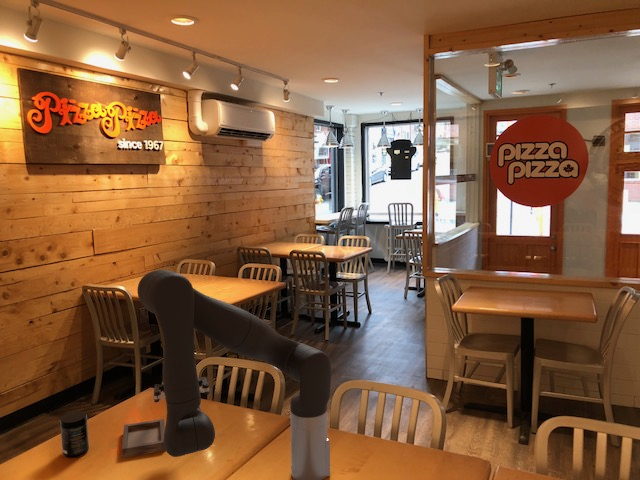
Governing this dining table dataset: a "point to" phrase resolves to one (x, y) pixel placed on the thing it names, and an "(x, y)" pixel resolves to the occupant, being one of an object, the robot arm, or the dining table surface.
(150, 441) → the tray
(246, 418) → the dining table surface
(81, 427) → the supplement container
